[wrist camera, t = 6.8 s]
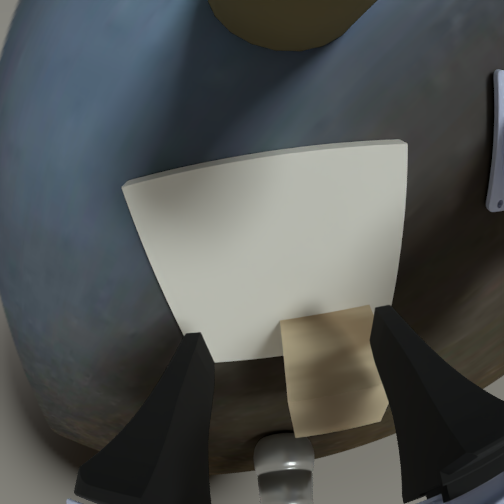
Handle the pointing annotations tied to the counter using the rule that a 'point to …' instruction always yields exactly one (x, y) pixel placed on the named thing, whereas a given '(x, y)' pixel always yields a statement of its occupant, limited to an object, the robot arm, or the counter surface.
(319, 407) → the cube
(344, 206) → the plate
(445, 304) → the counter surface
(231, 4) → the cork
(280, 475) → the plastic bottle
